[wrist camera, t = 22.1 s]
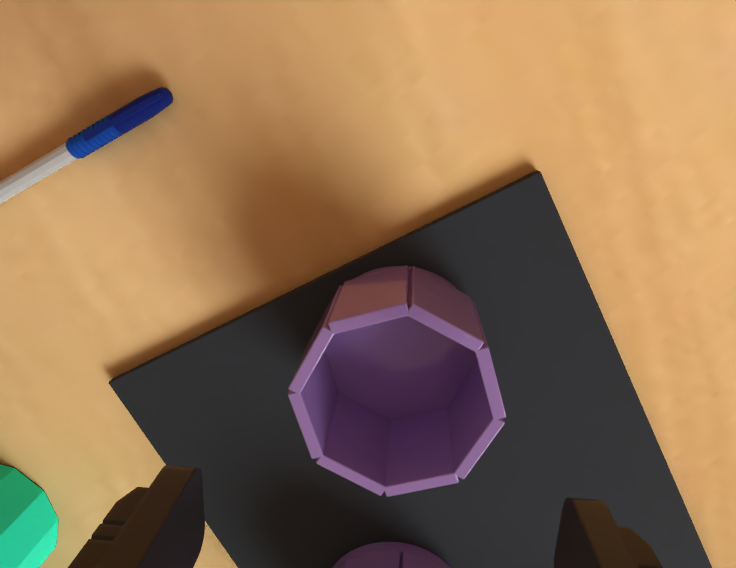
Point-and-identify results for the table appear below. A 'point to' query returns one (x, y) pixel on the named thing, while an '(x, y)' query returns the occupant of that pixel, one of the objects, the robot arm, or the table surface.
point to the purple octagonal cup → (390, 557)
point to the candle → (24, 521)
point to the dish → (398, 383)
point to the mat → (495, 466)
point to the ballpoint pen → (87, 141)
